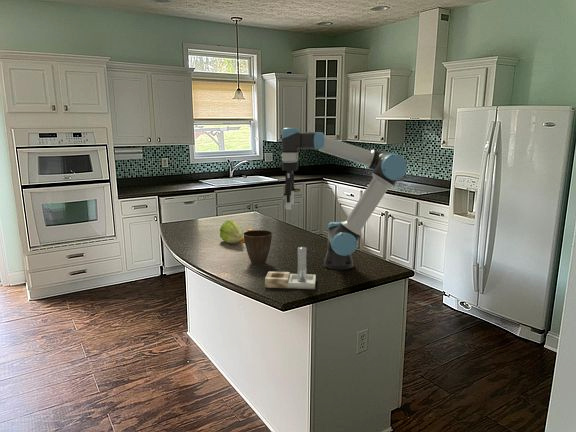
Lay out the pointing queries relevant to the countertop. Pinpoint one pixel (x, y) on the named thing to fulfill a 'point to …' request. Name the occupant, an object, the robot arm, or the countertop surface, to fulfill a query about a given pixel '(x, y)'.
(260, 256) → the plant pot
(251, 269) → the countertop surface
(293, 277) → the tray
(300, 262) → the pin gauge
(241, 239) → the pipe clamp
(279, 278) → the beige square frame
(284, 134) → the robot arm
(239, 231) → the lettuce
